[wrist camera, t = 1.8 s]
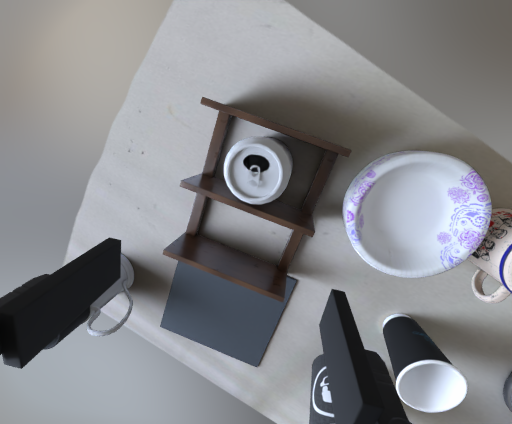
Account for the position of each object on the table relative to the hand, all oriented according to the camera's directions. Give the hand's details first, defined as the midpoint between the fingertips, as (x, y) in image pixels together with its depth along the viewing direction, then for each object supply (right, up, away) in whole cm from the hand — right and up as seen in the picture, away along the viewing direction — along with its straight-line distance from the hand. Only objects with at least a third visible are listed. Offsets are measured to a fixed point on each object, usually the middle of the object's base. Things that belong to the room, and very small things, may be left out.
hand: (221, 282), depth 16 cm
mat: (-4, -12, +30) cm, 33 cm away
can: (+4, +12, +23) cm, 26 cm away
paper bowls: (+22, +6, +21) cm, 31 cm away
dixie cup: (+25, -14, +26) cm, 39 cm away
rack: (+2, +7, +24) cm, 25 cm away
